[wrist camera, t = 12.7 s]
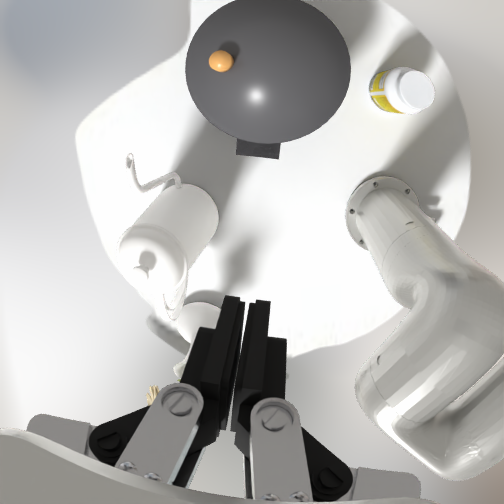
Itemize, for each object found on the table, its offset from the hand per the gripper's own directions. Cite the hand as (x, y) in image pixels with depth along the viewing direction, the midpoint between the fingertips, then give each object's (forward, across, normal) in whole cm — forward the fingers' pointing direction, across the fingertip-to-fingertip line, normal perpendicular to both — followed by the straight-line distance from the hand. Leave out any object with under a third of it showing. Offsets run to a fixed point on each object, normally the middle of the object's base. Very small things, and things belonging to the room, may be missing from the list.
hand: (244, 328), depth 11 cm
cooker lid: (+24, +2, -12) cm, 27 cm away
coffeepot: (+35, +13, +10) cm, 39 cm away
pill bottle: (+35, -15, -13) cm, 40 cm away
